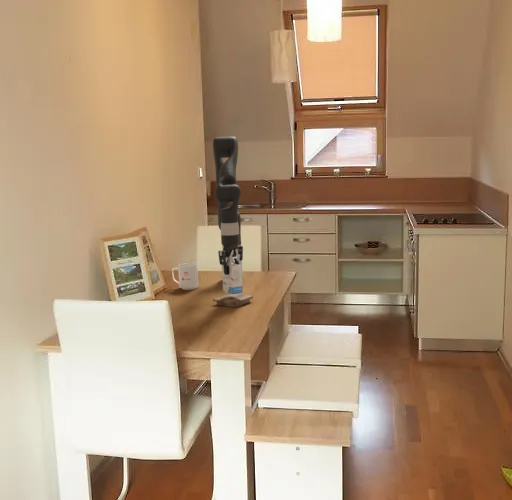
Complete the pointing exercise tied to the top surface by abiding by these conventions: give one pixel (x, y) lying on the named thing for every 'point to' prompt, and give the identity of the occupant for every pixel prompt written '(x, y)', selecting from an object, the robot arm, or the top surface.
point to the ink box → (232, 278)
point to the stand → (233, 300)
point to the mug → (187, 276)
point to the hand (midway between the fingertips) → (231, 272)
